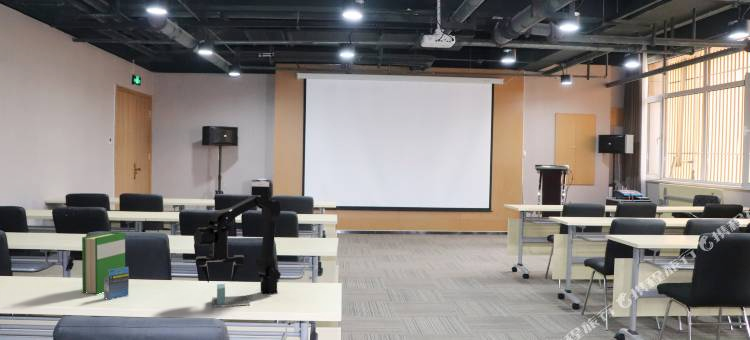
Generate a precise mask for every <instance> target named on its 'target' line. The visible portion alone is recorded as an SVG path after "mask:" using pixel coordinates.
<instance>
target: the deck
mask: <svg viewBox="0 0 750 340" xmlns="http://www.w3.org/2000/svg"><path fill="white" fill-rule="evenodd" d="M225 285H226V284H225V283H217V284H216V297H217V304H225V296H226V286H225Z"/></svg>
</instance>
